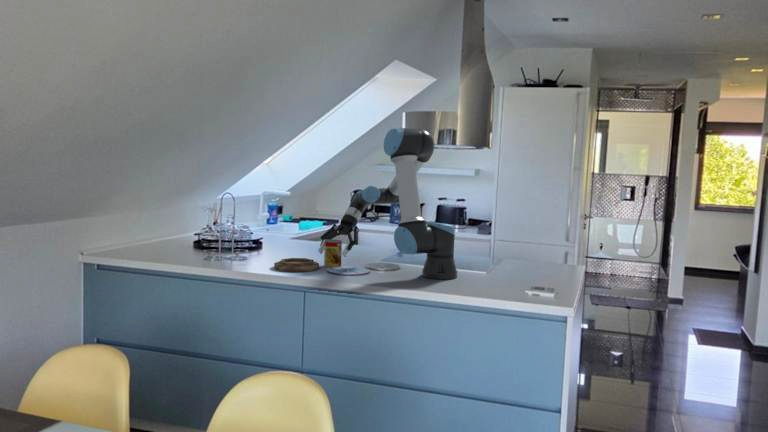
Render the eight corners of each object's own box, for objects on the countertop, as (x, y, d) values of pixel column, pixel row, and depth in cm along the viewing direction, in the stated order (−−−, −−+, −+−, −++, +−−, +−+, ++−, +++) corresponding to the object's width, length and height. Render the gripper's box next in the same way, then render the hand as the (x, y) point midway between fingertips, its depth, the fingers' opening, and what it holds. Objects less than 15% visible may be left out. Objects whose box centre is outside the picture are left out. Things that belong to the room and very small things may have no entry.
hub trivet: (328, 269, 282) (328, 261, 282) (291, 274, 268) (291, 266, 268) (301, 262, 296) (301, 255, 296) (265, 267, 283) (265, 259, 282)
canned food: (342, 267, 286) (343, 241, 285) (325, 268, 284) (326, 241, 283) (339, 264, 294) (340, 239, 293) (323, 265, 292) (323, 239, 291)
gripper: (375, 225, 296) (357, 261, 284) (332, 221, 309) (313, 255, 297) (369, 215, 291) (350, 251, 279) (326, 211, 304) (306, 246, 292)
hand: (331, 253), depth 288 cm, fingers open, 13 cm apart
